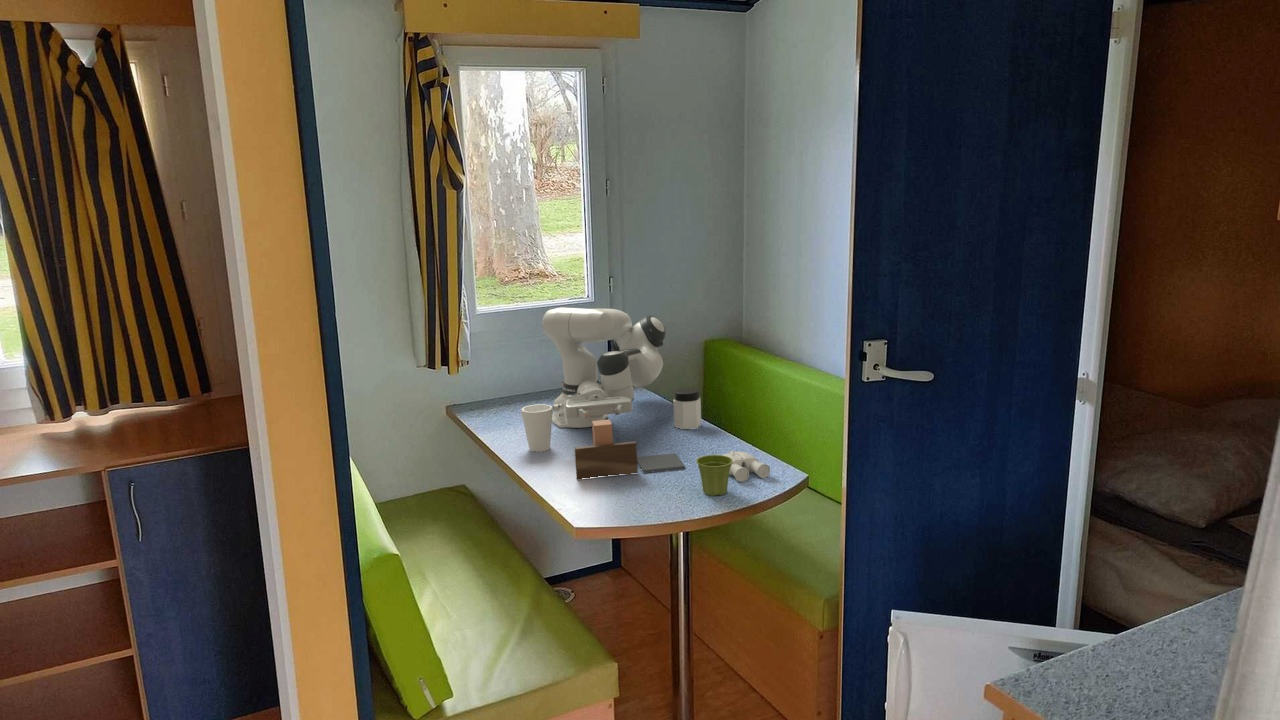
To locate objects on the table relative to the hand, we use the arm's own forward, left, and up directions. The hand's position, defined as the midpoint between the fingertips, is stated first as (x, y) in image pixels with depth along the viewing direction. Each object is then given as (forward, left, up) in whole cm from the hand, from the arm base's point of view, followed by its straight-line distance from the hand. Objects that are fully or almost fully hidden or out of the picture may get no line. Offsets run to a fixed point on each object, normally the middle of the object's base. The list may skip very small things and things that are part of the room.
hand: (602, 413), depth 263 cm
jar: (-8, +37, -14) cm, 40 cm away
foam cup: (-20, -11, -14) cm, 27 cm away
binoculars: (+36, +22, -14) cm, 44 cm away
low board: (+15, -8, -13) cm, 22 cm away
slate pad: (+16, +8, -13) cm, 23 cm away
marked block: (+10, -6, -13) cm, 18 cm away
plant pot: (+44, +7, -14) cm, 47 cm away
